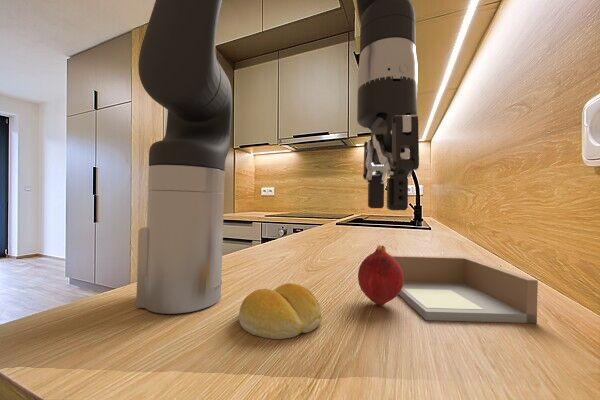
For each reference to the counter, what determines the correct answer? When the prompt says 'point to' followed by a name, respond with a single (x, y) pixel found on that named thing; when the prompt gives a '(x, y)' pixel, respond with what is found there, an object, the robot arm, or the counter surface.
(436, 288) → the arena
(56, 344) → the counter surface
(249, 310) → the bread roll
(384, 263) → the onion
